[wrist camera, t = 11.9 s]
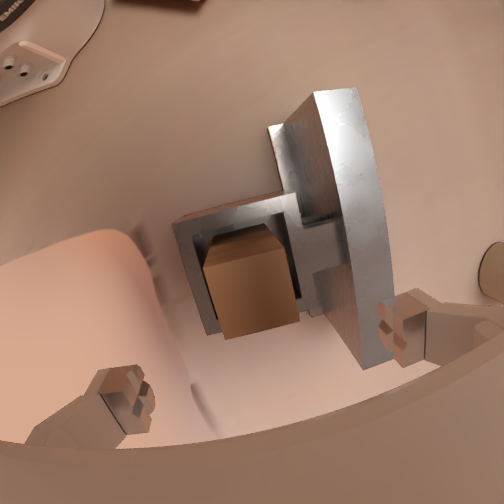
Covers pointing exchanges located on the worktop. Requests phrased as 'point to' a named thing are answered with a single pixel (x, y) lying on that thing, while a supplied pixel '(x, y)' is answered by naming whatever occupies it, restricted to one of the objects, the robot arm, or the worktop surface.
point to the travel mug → (493, 273)
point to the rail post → (250, 281)
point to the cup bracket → (314, 223)
